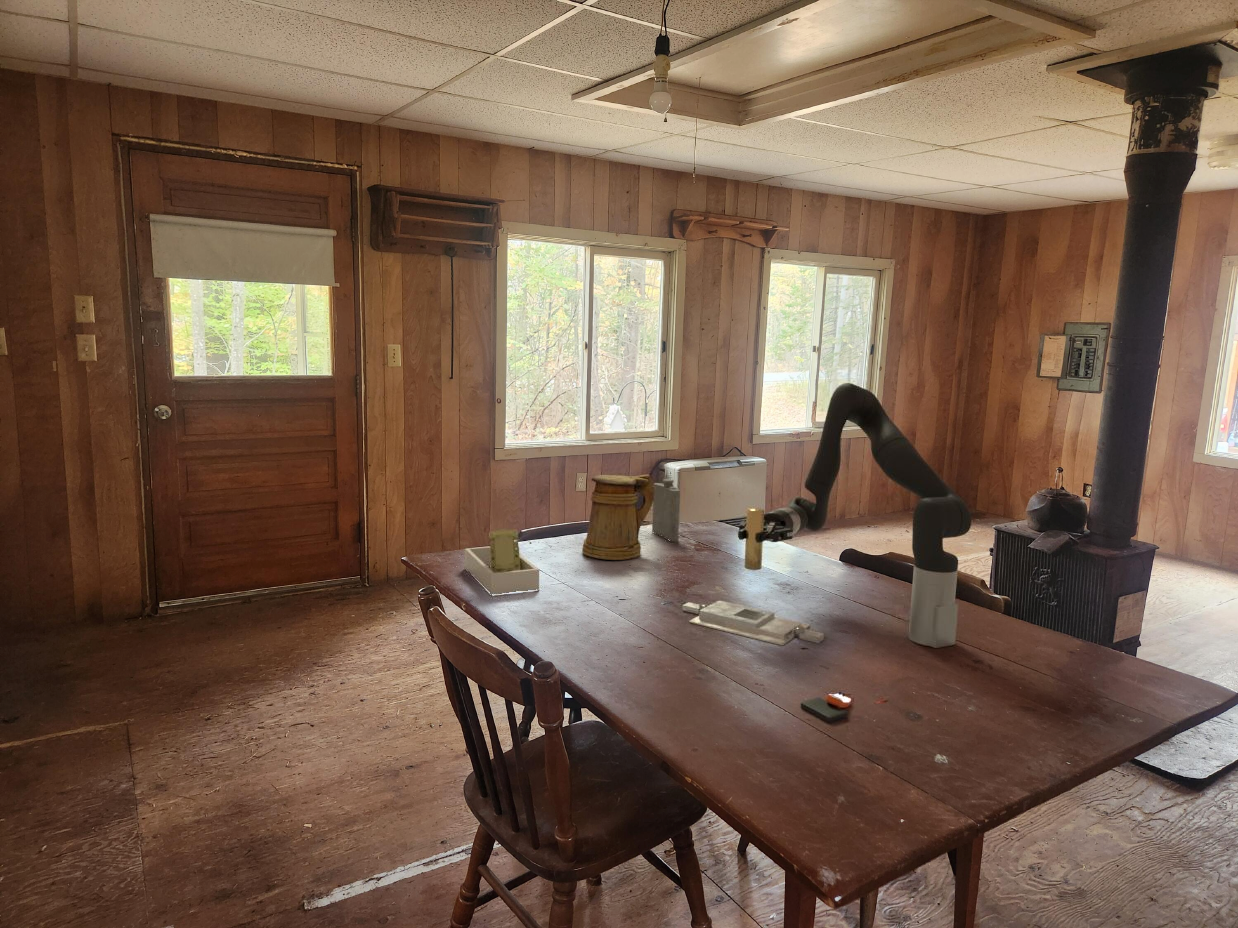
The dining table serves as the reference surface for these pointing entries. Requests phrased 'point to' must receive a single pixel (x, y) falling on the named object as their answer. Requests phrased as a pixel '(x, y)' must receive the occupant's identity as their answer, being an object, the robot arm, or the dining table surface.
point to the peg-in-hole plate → (750, 622)
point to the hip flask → (666, 510)
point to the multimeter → (829, 707)
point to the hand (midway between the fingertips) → (749, 536)
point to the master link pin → (753, 539)
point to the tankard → (617, 516)
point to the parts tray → (500, 573)
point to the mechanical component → (504, 550)
